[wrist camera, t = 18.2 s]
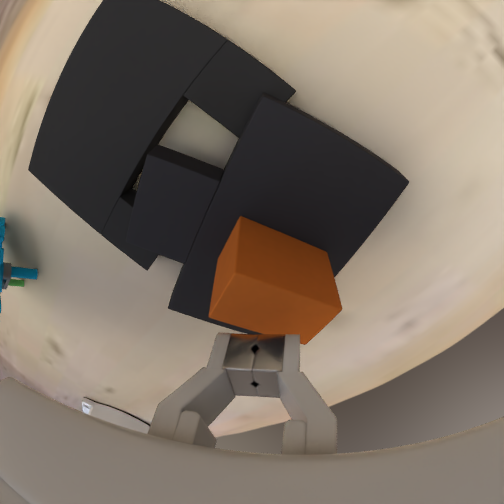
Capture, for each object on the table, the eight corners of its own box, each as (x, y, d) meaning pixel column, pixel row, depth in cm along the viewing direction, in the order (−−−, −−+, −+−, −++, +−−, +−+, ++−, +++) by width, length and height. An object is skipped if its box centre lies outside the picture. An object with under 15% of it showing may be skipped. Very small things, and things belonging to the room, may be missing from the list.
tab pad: (275, 325, 21) (277, 391, 17) (124, 274, 18) (96, 339, 14) (398, 170, 13) (451, 228, 9) (188, 63, 10) (142, 67, 6)
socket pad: (155, 258, 19) (147, 271, 18) (41, 162, 16) (28, 169, 15) (296, 91, 12) (296, 90, 11) (129, -13, 9) (116, -19, 8)
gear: (-3, 197, 16) (-12, 315, 14) (51, 208, 21) (50, 318, 18) (-13, 241, 22) (-14, 327, 19) (27, 247, 27) (29, 329, 24)
